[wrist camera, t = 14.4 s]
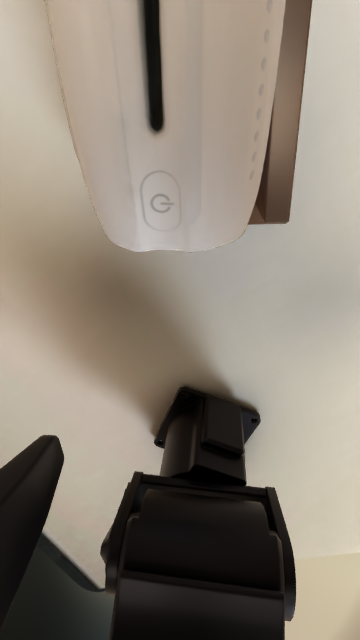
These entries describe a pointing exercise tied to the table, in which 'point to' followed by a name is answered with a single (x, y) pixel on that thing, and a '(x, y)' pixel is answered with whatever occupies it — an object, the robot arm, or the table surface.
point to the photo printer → (169, 112)
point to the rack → (284, 118)
